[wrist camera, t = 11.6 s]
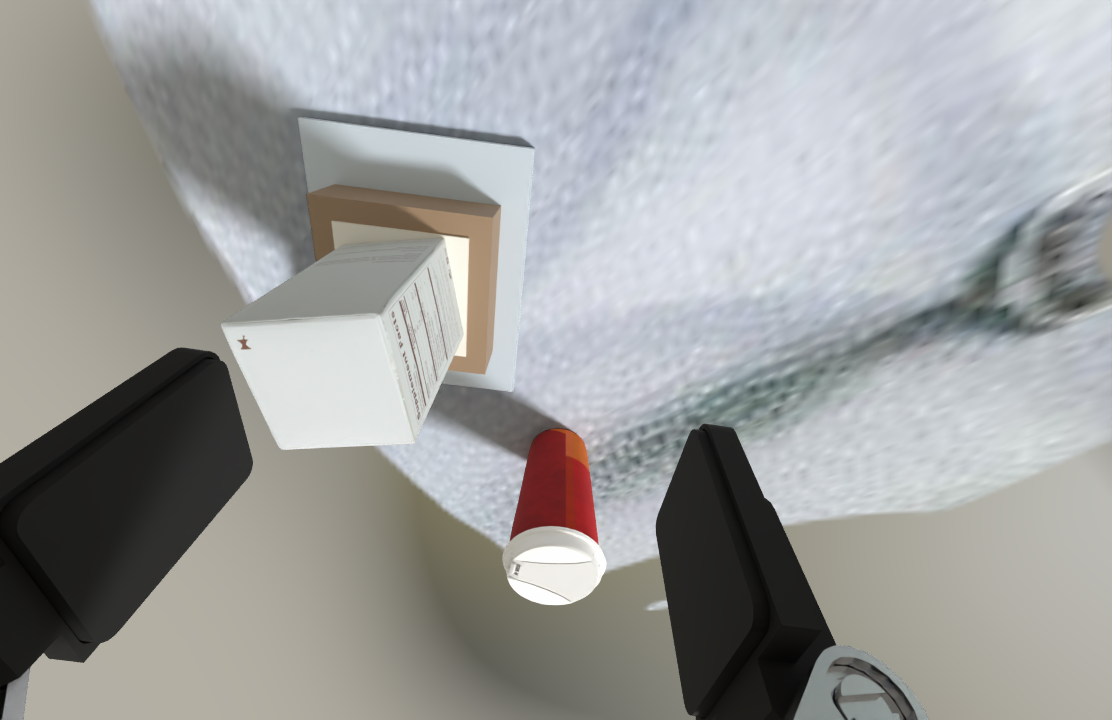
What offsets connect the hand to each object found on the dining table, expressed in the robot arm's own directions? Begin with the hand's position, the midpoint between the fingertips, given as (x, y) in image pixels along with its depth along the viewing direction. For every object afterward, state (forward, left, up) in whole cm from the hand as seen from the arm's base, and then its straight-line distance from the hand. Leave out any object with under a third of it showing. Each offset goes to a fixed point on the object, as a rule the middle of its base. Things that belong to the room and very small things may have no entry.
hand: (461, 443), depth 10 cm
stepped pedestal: (+7, -9, -28) cm, 30 cm away
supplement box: (+6, -9, -23) cm, 25 cm away
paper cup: (+24, +4, -28) cm, 37 cm away
